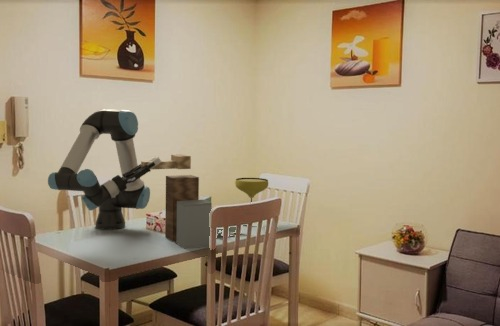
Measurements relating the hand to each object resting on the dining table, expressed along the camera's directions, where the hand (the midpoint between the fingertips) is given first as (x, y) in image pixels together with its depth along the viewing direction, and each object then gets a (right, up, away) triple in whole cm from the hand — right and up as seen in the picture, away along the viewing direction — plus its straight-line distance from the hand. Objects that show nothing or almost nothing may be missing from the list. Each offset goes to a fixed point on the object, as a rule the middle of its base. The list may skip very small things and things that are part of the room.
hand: (158, 159), depth 255 cm
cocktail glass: (+43, -36, +45) cm, 72 cm away
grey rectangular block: (+17, -40, -3) cm, 43 cm away
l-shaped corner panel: (+32, -39, +17) cm, 53 cm away
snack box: (+16, -36, +39) cm, 55 cm away
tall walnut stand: (+10, -38, +10) cm, 41 cm away
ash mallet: (+3, -4, +2) cm, 6 cm away
